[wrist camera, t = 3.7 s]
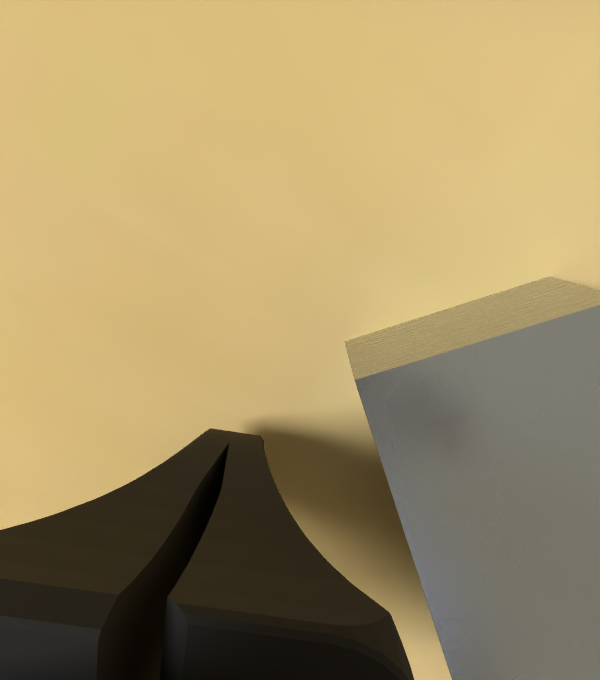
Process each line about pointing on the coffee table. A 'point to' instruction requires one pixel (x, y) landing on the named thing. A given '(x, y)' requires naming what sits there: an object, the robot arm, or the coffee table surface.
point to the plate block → (497, 473)
